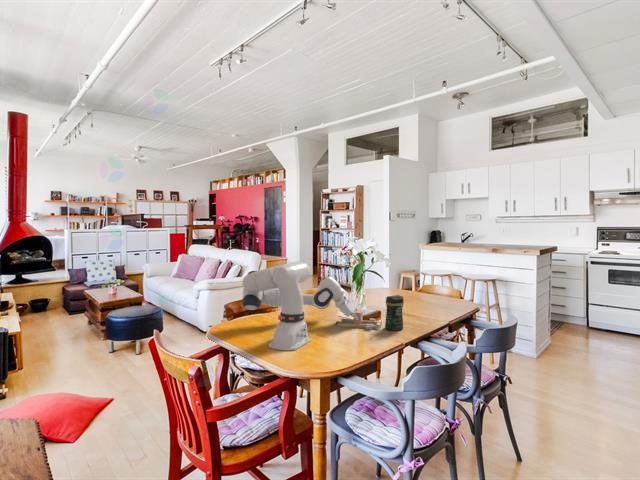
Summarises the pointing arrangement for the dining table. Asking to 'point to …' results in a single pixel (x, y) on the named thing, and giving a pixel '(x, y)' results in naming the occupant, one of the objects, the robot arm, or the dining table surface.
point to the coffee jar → (394, 312)
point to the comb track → (367, 326)
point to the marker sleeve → (359, 314)
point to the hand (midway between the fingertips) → (359, 317)
